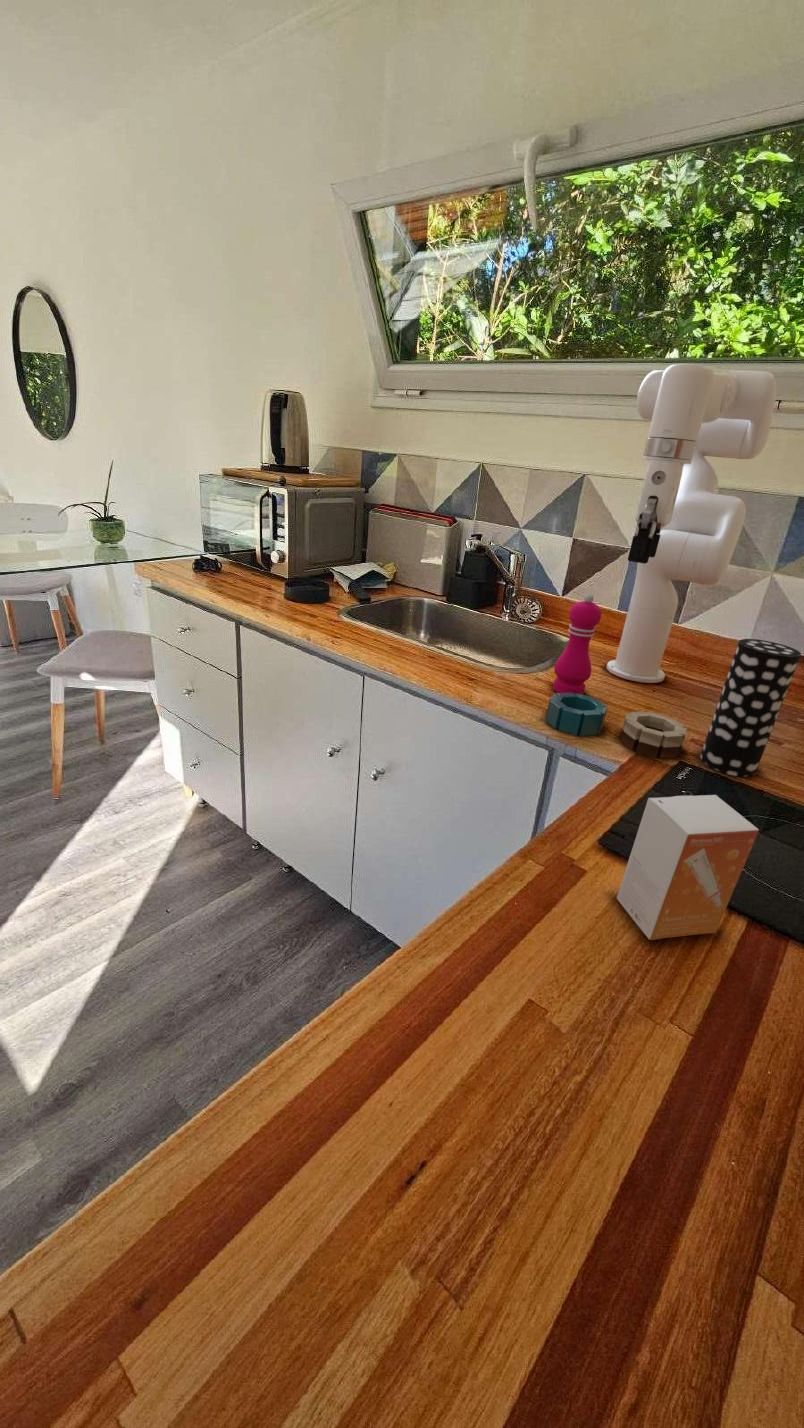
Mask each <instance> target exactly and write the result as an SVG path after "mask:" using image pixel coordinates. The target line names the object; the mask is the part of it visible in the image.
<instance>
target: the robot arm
mask: <svg viewBox="0 0 804 1428" xmlns="http://www.w3.org/2000/svg"><path fill="white" fill-rule="evenodd" d="M777 391H778V389H777V380H776V377H775V376H774V374H773V373H772V372H770V371H766V370H745V369H744V370H742V369H741V370H739V369H738V370H737V369H719V368H712V367H710V366H708V365H705V364H701V363H687V362H685V363H675V364H670V365H669V366H668V367H666V368H665V369H655V370H652V371H650V372H648V374H647V375H646V376H645V377H644V379H643V381H642V382H641V384H640V385H639V388H638V391H637V396H636V408H637V412H638V414H639V416H640V417H641V418H642V419H643V420H647V421H651V422H650V426H649V430H648V434H647V438H646V442H645V447H644V451H643V455H642V459H641V460H644V461H648V463H647V464H648V465H647V468H646V471H645V475H644V479H643V483H642V487H641V491H640V495H639V500H638V504H637V510H636V515H635V522H636V523H637V525H636V528H635V531H634V535H633V536H632V540H631V544H630V548H629V552H628V556H627V561H628V562H633V563H637V565H636V572H635V573H636V575H635V579H634V585H633V589H632V593H631V597H630V601H629V602H630V603H629V606H628V609H627V614H626V617H625V622H624V625H623V630H622V632H621V633H622V634H621V638H620V641H619V645H618V649H617V653H616V657H615V659H612V660H609V661H608V662H607V664H606V670H607V671H608V672H609V673H610V674H611V675H614V676H615V677H618V678H621V679H623V680H627V681H632V682H637V683H643V684H657V683H661V682H663V681H664V680H665V677H666V674H665V672H664V671H663V670H661V669H660V667H661V664H662V661H663V657H664V654H665V650H666V648H667V644H668V640H669V636H670V632H671V629H672V625H673V622H674V620H675V616H676V612H677V609H678V605H679V597H678V593H677V590H676V587H675V586H674V584H673V582H672V580H674V581H682V582H688V583H694V584H699V585H706V586H712V585H715V584H718V583H719V582H721V580H722V579H723V577H725V575H726V572H727V570H728V567H729V566H730V563H731V560H732V557H733V554H734V551H735V549H736V546H737V543H738V541H739V538H740V535H741V532H742V530H743V527H744V523H745V520H746V519H745V518H746V512H747V511H746V510H747V509H746V504H745V502H744V500H742V499H741V498H740V497H738V496H733V495H728V494H719V493H716V491H717V489H718V485H719V479H718V475H717V473H716V471H715V469H714V468H713V466H712V465H711V463H710V462H709V461H708V460H707V459H706V457H714V458H725V459H735V460H751V459H754V458H756V457H758V456H759V455H760V454H761V453H762V451H763V450H764V448H765V447H766V444H767V441H768V438H769V436H770V435H769V434H770V430H771V426H772V419H773V415H774V410H775V405H776V399H777Z"/></svg>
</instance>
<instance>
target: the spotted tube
mask: <svg viewBox="0 0 804 1428" xmlns="http://www.w3.org/2000/svg"><path fill="white" fill-rule="evenodd" d="M801 657H802V653H801V651H799V650H797V648H794V647H791V646H788V645H785V644H782V643H779V642H778V643H777V642H774V641H769V640H765V639H756V638H741V639H740V640H739V641H738V643H737V645H736V648H735V652H734V655H733V658H732V661H731V663H730V665H729V670H728V673H727V676H726V679H725V681H724V684H723V687H722V691H721V693H720V696H719V699H718V702H717V704H716V708H715V711H714V713H713V717H712V719H711V723H710V725H709V729H708V730H707V731H708V732H707V734H706V738H705V740H704V744H703V747H702V749H701V753H700V761H702V762H703V763H704V764H705V765H706V766H707V767H710V768H711V769H713V770H715V771H718V772H721V773H723V774H726V775H730V776H735V777H743V778H744V777H752V776H754V775H756V773H757V770H758V768H759V765H760V762H761V759H762V757H763V755H764V752H765V749H766V748H767V744H768V742H769V739H770V736H771V734H772V731H773V729H774V727H775V724H776V721H777V719H778V717H779V713H780V711H781V708H782V705H783V704H784V700H785V697H786V696H787V692H788V691H789V687H790V684H791V682H792V679H793V677H794V675H795V672H796V669H797V668H798V667H797V666H798V664H799V661H800V659H801Z"/></svg>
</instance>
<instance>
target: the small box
mask: <svg viewBox="0 0 804 1428" xmlns="http://www.w3.org/2000/svg"><path fill="white" fill-rule="evenodd" d="M759 831H760V829H759V828H758V827H757V826H755V825H754V824H753V823H752V822H750V821H749V820H748V819H746V818H745V817H744V816H743V815H741V814H740V813H739V812H738V811H737V810H735V809H734V808H733V807H732V806H730V805H729V804H728V803H727V802H726V801H724V800H723V799H721V797H719V796H718V795H717V794H705V795H704V794H703V795H701V794H700V795H675V796H663V797H648V798H647V801H646V803H645V808H644V811H643V814H642V817H641V820H640V823H639V826H638V829H637V832H636V836H635V839H634V841H633V845H632V848H631V852H630V855H629V858H628V860H627V861H628V862H627V864H626V867H625V871H624V874H623V876H622V880H621V883H620V886H619V889H618V892H617V895H616V900H617V901H618V902H619V903H620V905H621V906H622V908H623V909H624V910H625V911H626V913H627V914H628V916H629V917H630V918H631V919H632V920H633V921H634V923H635V924H636V925H637V927H638V928H639V930H641V932H642V933H643V934H644V935H645V936H646V938H647V939H648V940H649V941H656V940H661V939H668V938H669V939H670V938H679V937H685V936H697V935H706V934H716V932H717V931H718V928H719V926H720V923H721V921H722V919H723V917H724V914H725V911H726V909H727V907H728V904H729V903H730V900H731V898H732V895H733V893H734V890H735V888H736V886H737V883H738V881H739V878H740V877H741V874H742V872H743V869H744V867H745V865H746V862H747V859H748V858H749V855H750V852H751V851H752V848H753V845H754V843H755V841H756V839H757V836H758V834H759Z"/></svg>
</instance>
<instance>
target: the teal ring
mask: <svg viewBox="0 0 804 1428" xmlns="http://www.w3.org/2000/svg"><path fill="white" fill-rule="evenodd" d="M607 713H608V707H607V705H606V704H605V703H603V702H602V701H601V700H599V699H597V698H594V697H593V696H589V695H585V694H583V695H581V694H577V693H575V695H574V694H573V693H558V692H556V693H554V694H552V696H551V697H550V698H549V701H548V704H547V709H546V715H545V721H546V722H547V723H548V724H549V725H550V726H551V727H552V728H554V729H556V730H557V729H558V731H559V732H563V733H567V734H570V735H574V736H578V735H579V737H586V736H597V735H599V734H600V733H601V732H602V730H603V728H604V724H605V720H606V717H607Z"/></svg>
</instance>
